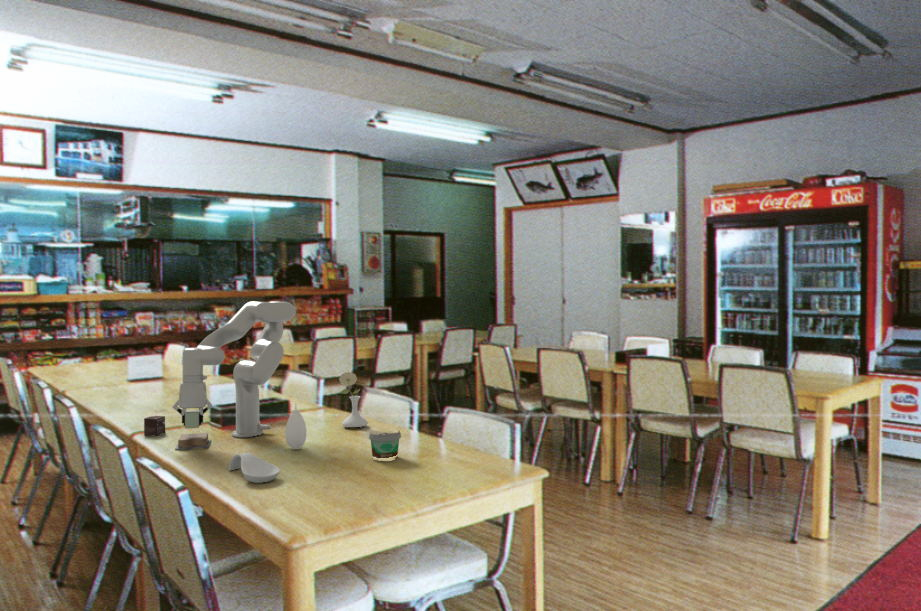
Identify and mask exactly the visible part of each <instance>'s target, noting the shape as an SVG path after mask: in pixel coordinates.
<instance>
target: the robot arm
mask: <svg viewBox="0 0 921 611" xmlns="http://www.w3.org/2000/svg"><path fill="white" fill-rule="evenodd" d="M295 316H296V308H295V306H294V305H293V304H292V303H291V302H289V301H277V300H276V301H275V300H274V301H272V300H271V301H256V300H255V301H254V300H253V301H249V302H247V303H245V304H244V305H243V306H242V307H241V308H240V309H239V310H238V311H237V312H236V313H235V314H234V315H233V316H232V317H231V319H229V321H227V322H226V323H225V324H224V325H222V326H220V327H219V328H217V329H216V330H214V331H212V333H210V334H208V335H207V336H206V337H205V338H204V339H203V340H202V341H200V343H199V344H198V345H197V347H186V348H185V349H183V351H182V381H181V382H180V385H179V390H178V391H179V392H178V400H177V401H176V402H175V403H174V404H173V406H172V409H174V410H175V411H176V412H178V414H180V416H181V424H183V426H184V427H185V413H186V411H187V410H188V409H198V411H199V412H200V415H199V425H200V426H201V425H202V423H204V414H205V413H206V412H208V411H209V410H210V409H211V408H212V407H213V403H211V401H210V400H209V399H208V397H207V395H208V394H207V384H206V381H205V380H208V376H207V375H204V366H218V365H220V364H222V363H223V362H224V361H225V358H226V355H225V351H224V350H223V349H222V348H221V347H223V346H225V345H226V344H229V343H231V342H235V341H238V340H240V339H241V338H243V337H244V336H245V335H246V334H247V333H248V332H249V331H250V329H252V327H253V326H254V325H255V324H256V323H257V322H260V323H264V326H263V329H262V331H261V332H260V334H259V335H258V337H257V338H256V340H255V341H254V343H253V344H252V345H251V347H250V350H249V355H250V357H251V359H253V360H250V359H245V360H241V361H239V362H238V363H236V364H235V366H234V368H233V372H232V373H233V374H232V375H233V381H234V385H235V386H234V387H235V430H233V431H232V433H231V435H232V436H233V437H234V438H254V437H253V436H255V437H258V436H257V435H259V436H261V434H262V433H263V434H264V430H271V424H268V423H267V424H266V423H265V424H262V423H261V421H260V389H259V386H262V385H265V384H266V383H268V382H269V380H270V379H271V377H272V376H273V374H274V373H275V371H277V370H276V369H277V368H278V367H279V365H280V363H281V362H282V359H283V358H284V354H285V352H284V351H285V350H284V346H283V345H282V344H281V343H280V341H281V339H282V337H283V334H284V326H283V325H284V324H283V322H289V321H291V320H292V319H294V317H295ZM206 405H207V406H206ZM263 434H262V435H263Z"/></svg>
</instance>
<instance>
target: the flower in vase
mask: <svg viewBox="0 0 921 611" xmlns="http://www.w3.org/2000/svg"><path fill="white" fill-rule="evenodd" d="M338 380H339V383H340V384H341V385H342V386H345V387H350V386H353V385H355V384H356V382H357V381H358V377H357V375H356V373H353V371H352V372H351V371H347V372H344V373H342V374H341V375H340V376H339V378H338ZM360 391H361V388H359V389H356V390H354V391H353V392H352V391H351V390H350V388H348V389H346V388H345V389H342V390H341V391H340V394H345V395H347V394H349V392H350V394H351V396H349V397H348V398H349V399H350V401H351V408H352V409H351V413H350V415H348V416H347V417H346V418H344V420H343V421H342V422H341V425H342V426H343V427H345V428H348V427H360V428H363V427H362V426H364V427H365V425H366V426H367V425H368V420H366V419H365V418H364V417H363V416H362V415H361V414H360V413H359V412H358V405H359V400H360V398H361V396H360V395H355V394H358V393H359V392H360Z"/></svg>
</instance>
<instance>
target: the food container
mask: <svg viewBox="0 0 921 611" xmlns="http://www.w3.org/2000/svg"><path fill="white" fill-rule="evenodd" d="M401 438H402V434H401V432H400V430H398V431H397V432H391V433H390V432H383V433H380V434H374V433H371V432H370V433H369V436H368V439H369V440H370V446H371V454H372V455H371V456H373V457H376V458H389V457H393V456H396V455H397V454H398V453H399V445H400V439H401ZM398 455H399V454H398Z"/></svg>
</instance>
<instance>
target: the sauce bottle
mask: <svg viewBox="0 0 921 611" xmlns="http://www.w3.org/2000/svg"><path fill="white" fill-rule="evenodd" d="M285 425H286V426H285V430H284V433H285V434H284V436H285V440H286V444H287V445H288V447H290V448H291V450H294V449H298V450H299V449H301V448H302V447H303V446H304V445H305V442H306V439H307V426H306V422H305V419H304V417H303V415H302V414H301V413H300V410H299V409H298V408H297V403H295V407H294V409H293V410H292V412H291V414H290V416H289V418H288V419H287V423H286V424H285Z"/></svg>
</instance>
